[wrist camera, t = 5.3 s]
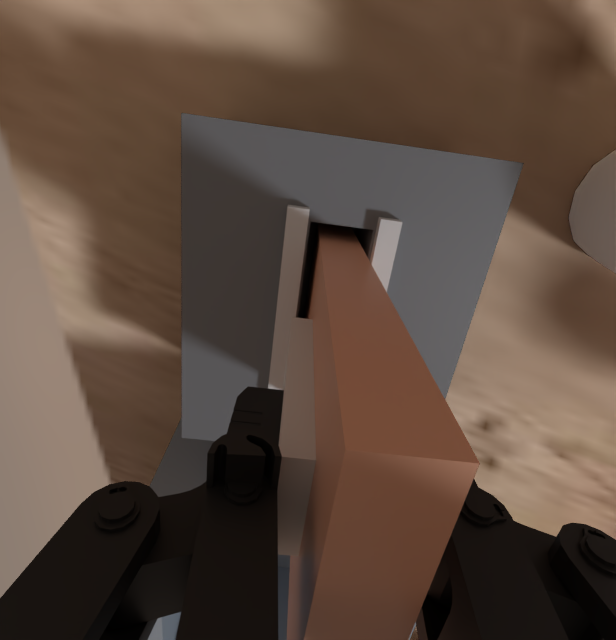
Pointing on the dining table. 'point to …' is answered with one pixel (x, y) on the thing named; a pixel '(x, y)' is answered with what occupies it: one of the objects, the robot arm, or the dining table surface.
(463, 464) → the terracotta flat slab
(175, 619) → the bin
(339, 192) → the dispenser
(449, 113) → the dining table surface
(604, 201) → the foam cup
